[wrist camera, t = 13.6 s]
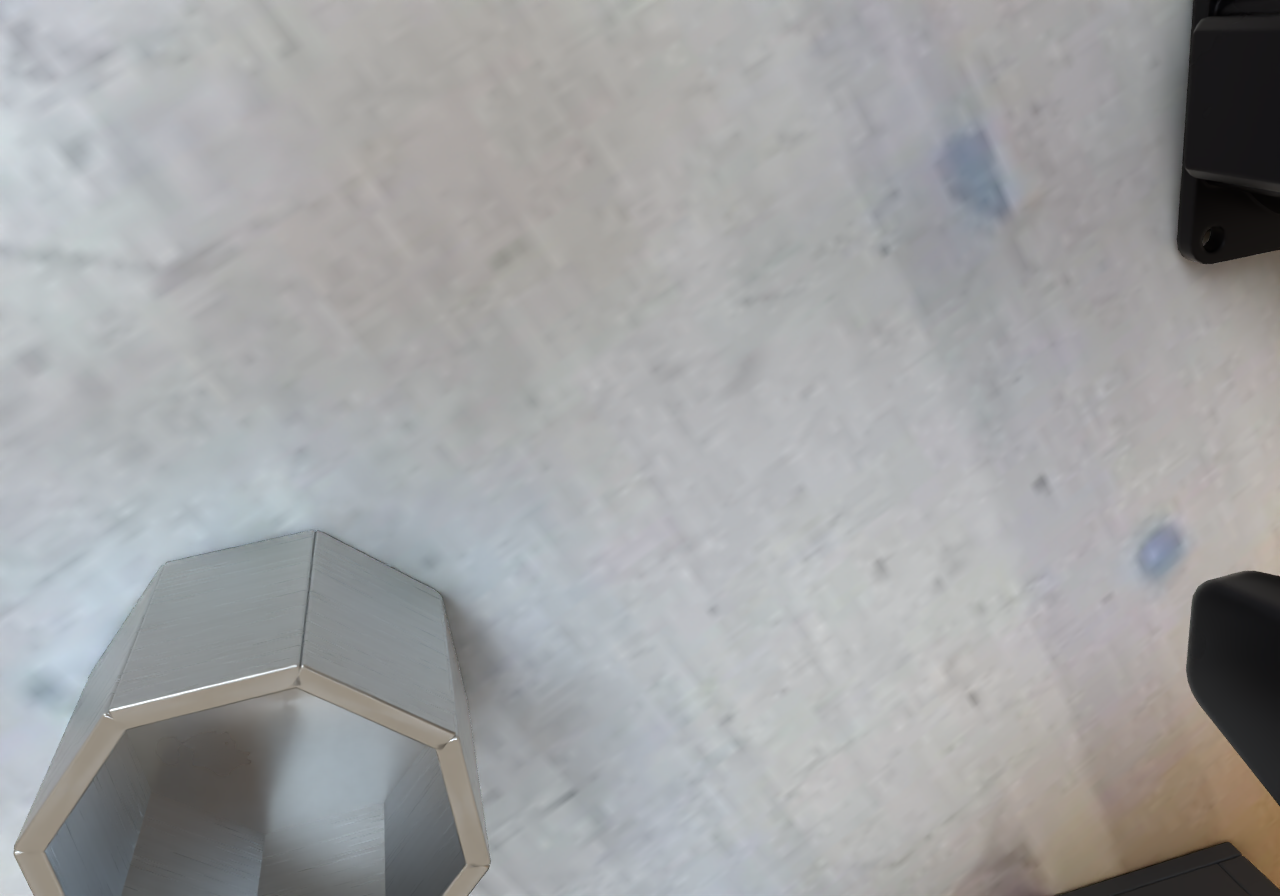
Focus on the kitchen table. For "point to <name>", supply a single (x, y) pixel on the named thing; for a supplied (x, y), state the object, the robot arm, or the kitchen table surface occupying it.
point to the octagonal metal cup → (267, 739)
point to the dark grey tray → (1190, 877)
